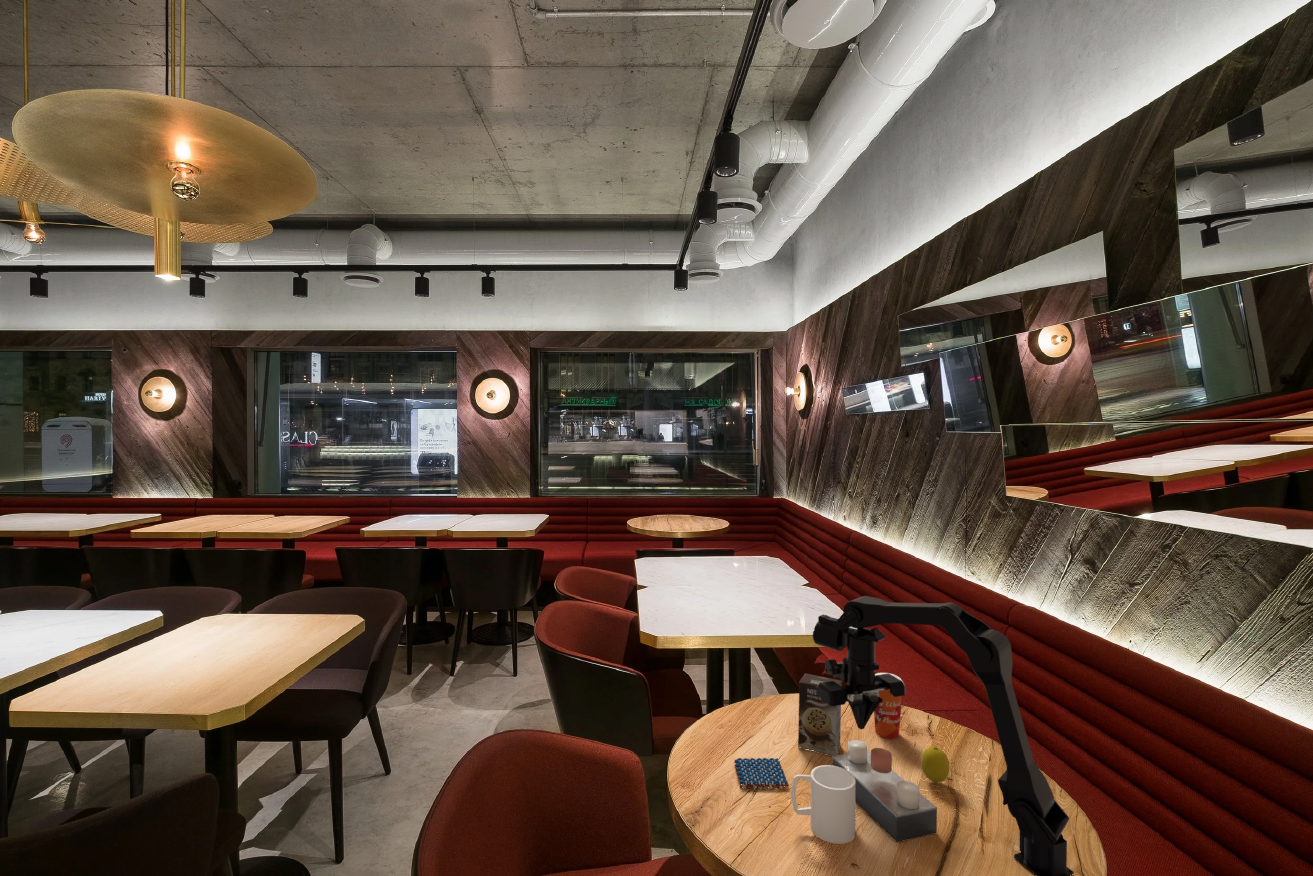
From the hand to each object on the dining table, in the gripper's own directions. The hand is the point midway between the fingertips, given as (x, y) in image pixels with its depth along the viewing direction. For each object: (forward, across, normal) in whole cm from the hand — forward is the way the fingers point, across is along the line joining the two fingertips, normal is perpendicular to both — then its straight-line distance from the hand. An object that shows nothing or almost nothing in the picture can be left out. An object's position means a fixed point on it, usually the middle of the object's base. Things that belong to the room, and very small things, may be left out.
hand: (860, 728), depth 130 cm
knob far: (+7, 0, 0) cm, 7 cm away
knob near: (+7, +1, +16) cm, 17 cm away
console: (+12, 0, +8) cm, 14 cm away
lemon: (+12, -16, +5) cm, 20 cm away
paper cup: (+12, -20, -16) cm, 28 cm away
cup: (+12, +16, +11) cm, 23 cm away
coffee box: (+12, 0, -15) cm, 20 cm away
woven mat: (+12, +20, -8) cm, 25 cm away
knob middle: (+4, 0, +8) cm, 9 cm away
